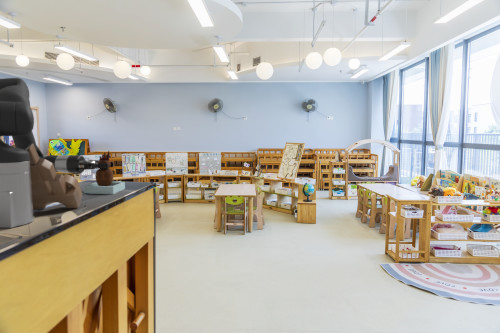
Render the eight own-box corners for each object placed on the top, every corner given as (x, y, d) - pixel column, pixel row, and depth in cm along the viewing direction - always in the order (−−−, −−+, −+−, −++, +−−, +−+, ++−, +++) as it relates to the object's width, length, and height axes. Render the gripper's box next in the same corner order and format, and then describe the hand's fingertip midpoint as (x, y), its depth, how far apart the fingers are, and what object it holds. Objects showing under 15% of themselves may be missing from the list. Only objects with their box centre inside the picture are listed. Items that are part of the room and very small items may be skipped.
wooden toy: (83, 193, 109) (64, 135, 93) (78, 208, 104) (56, 149, 88) (35, 194, 107) (5, 134, 90) (27, 209, 102) (-6, 149, 85)
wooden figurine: (115, 185, 136) (115, 150, 134) (108, 187, 130) (107, 151, 129) (101, 184, 137) (100, 150, 135) (93, 186, 131) (92, 151, 129)
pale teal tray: (113, 194, 128) (113, 186, 127) (83, 193, 128) (83, 186, 127) (124, 188, 140) (124, 182, 139) (98, 188, 140) (97, 181, 139)
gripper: (59, 156, 125) (102, 157, 125) (79, 154, 139) (117, 155, 139) (60, 175, 126) (103, 176, 126) (79, 170, 140) (118, 171, 140)
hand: (110, 165), depth 132 cm, fingers closed on wooden figurine, 4 cm apart
